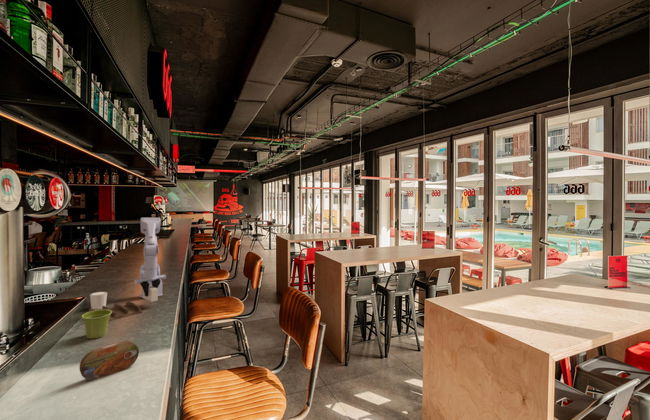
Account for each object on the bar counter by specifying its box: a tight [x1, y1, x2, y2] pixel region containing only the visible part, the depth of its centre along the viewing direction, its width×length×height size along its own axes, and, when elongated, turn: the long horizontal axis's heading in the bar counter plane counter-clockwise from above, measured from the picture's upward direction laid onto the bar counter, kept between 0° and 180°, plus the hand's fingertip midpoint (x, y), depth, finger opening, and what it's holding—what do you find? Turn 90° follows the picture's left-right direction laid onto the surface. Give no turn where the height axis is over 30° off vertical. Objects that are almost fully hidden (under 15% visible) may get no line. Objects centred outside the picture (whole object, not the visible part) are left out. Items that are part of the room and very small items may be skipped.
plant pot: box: [81, 309, 112, 340], centre depth 118 cm, size 9×9×9 cm
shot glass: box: [89, 291, 108, 310], centre depth 149 cm, size 7×7×7 cm
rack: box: [88, 300, 143, 322], centre depth 141 cm, size 17×14×3 cm
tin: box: [78, 340, 140, 381], centre depth 94 cm, size 15×3×8 cm, turn 139°
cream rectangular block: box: [142, 285, 159, 302], centre depth 154 cm, size 3×9×6 cm, turn 55°
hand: (150, 295), depth 154 cm, fingers closed on cream rectangular block, 3 cm apart
